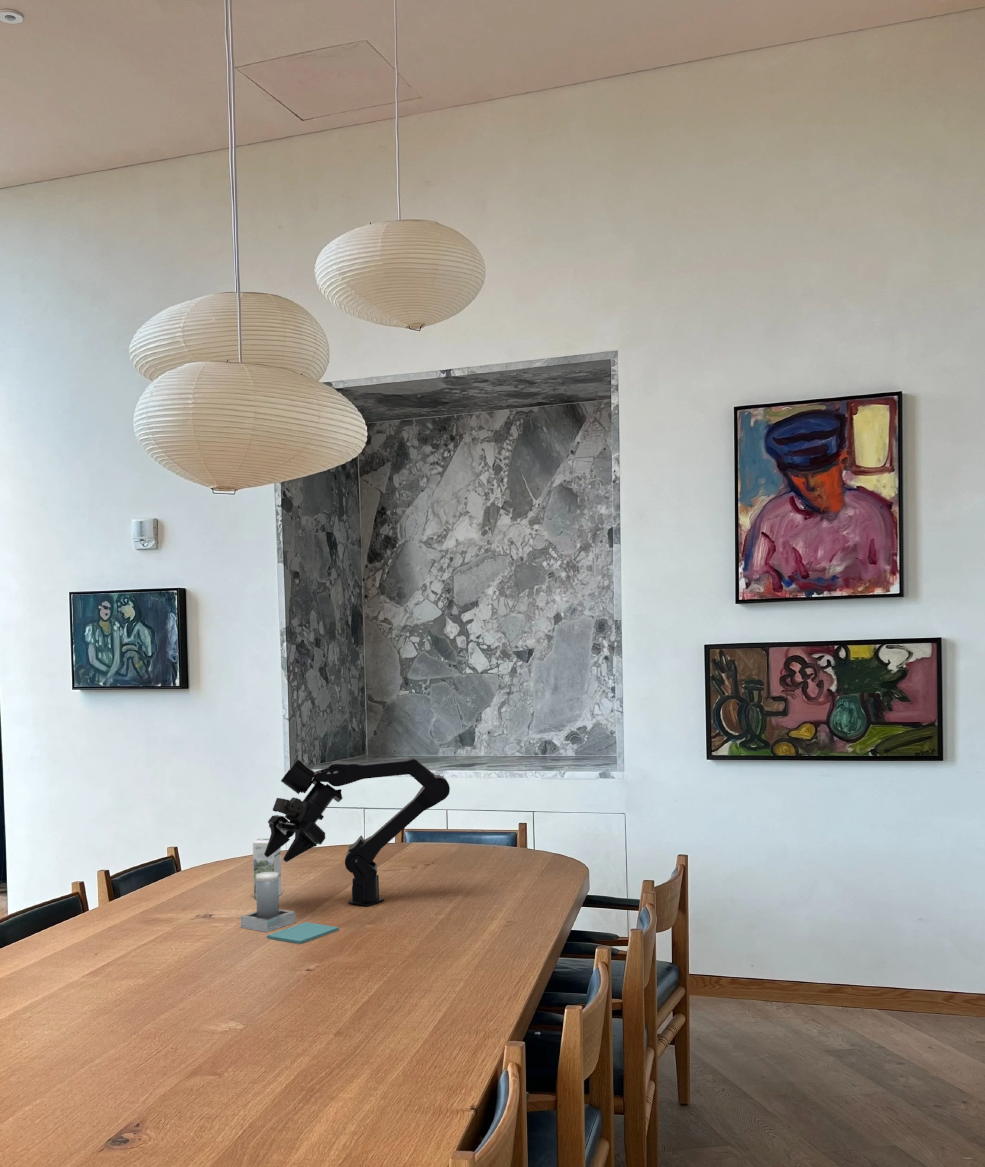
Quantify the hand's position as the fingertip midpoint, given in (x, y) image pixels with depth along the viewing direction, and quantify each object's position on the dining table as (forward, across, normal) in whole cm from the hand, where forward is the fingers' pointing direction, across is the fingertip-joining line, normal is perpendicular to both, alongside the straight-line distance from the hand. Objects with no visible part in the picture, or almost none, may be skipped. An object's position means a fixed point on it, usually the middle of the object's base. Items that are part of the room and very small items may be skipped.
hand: (275, 858), depth 236 cm
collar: (+13, +6, +6) cm, 16 cm away
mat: (+12, +19, +7) cm, 24 cm away
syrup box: (+4, -20, +15) cm, 25 cm away
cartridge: (+13, +6, +6) cm, 16 cm away
